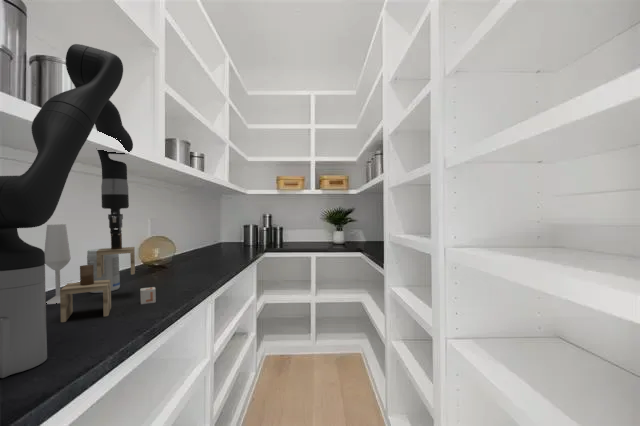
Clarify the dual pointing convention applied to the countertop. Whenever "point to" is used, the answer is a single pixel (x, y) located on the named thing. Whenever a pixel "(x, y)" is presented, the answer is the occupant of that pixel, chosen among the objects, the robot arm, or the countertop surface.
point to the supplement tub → (105, 268)
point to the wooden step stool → (84, 286)
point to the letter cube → (148, 295)
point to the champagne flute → (56, 254)
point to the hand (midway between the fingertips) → (116, 246)
